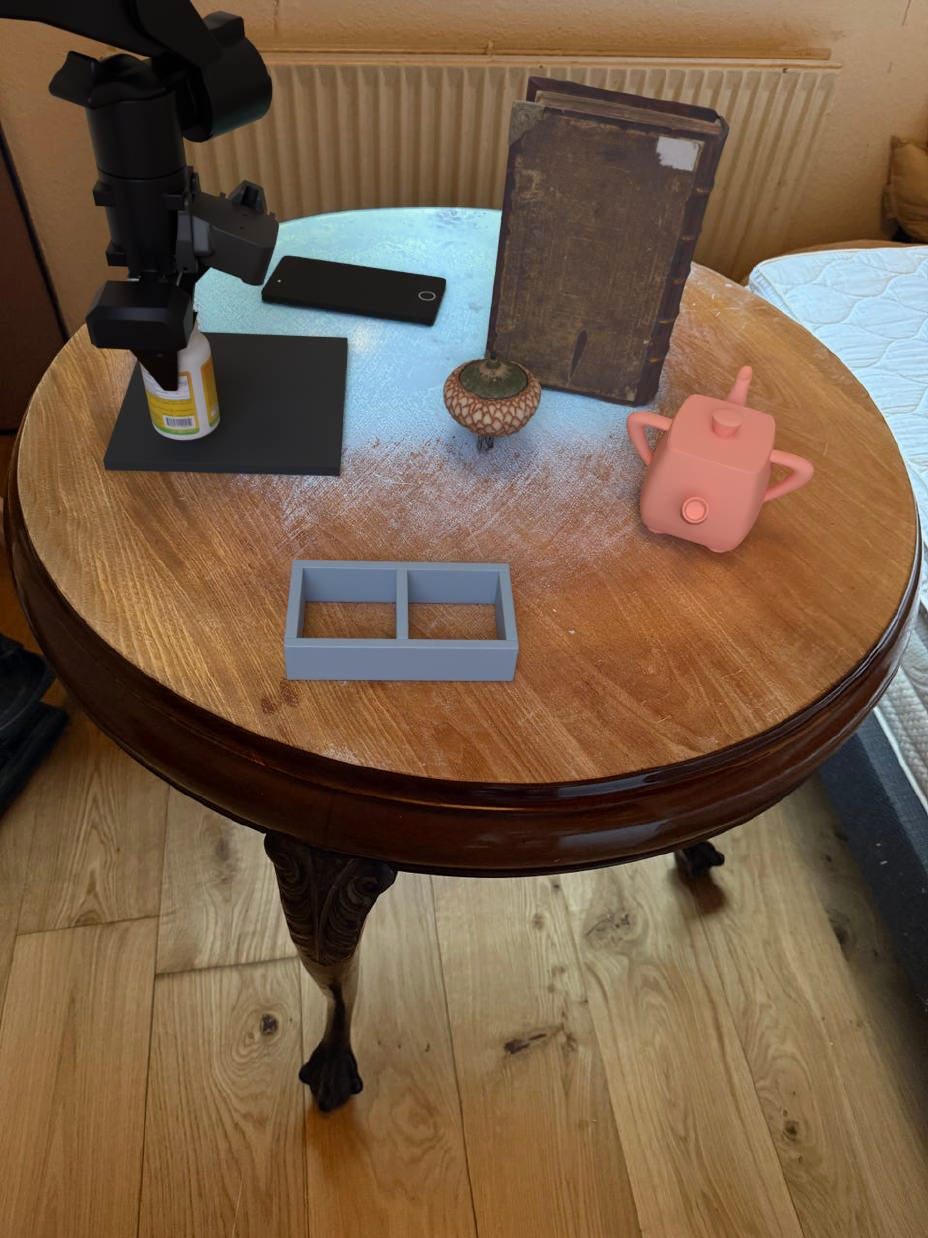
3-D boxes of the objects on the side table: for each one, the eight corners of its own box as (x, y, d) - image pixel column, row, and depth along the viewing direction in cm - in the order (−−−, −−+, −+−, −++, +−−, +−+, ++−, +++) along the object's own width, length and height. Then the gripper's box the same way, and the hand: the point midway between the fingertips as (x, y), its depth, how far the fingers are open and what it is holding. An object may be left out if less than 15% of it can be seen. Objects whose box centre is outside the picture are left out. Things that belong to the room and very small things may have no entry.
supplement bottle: (196, 395, 78) (179, 288, 71) (233, 425, 76) (220, 317, 69) (139, 419, 76) (116, 309, 69) (176, 450, 73) (156, 340, 66)
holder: (286, 680, 62) (283, 646, 60) (295, 593, 68) (292, 559, 65) (513, 681, 64) (519, 648, 61) (503, 596, 69) (508, 563, 67)
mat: (105, 470, 75) (102, 460, 75) (148, 338, 89) (147, 329, 88) (339, 476, 77) (339, 466, 76) (347, 346, 91) (347, 337, 90)
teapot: (800, 565, 74) (848, 463, 66) (666, 588, 71) (700, 484, 64) (718, 456, 83) (752, 357, 76) (596, 473, 80) (619, 371, 73)
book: (662, 385, 90) (736, 108, 72) (648, 424, 85) (724, 140, 67) (499, 344, 93) (531, 68, 74) (477, 380, 88) (505, 95, 70)
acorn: (507, 415, 85) (520, 316, 77) (548, 469, 80) (566, 368, 72) (424, 432, 82) (429, 330, 75) (461, 489, 77) (470, 386, 70)
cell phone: (432, 327, 94) (433, 319, 93) (259, 301, 95) (258, 293, 94) (446, 285, 100) (447, 277, 99) (284, 262, 101) (283, 253, 100)
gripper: (251, 232, 55) (270, 445, 67) (277, 117, 68) (290, 313, 79) (58, 222, 54) (111, 440, 66) (121, 107, 67) (157, 307, 78)
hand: (176, 369), depth 72 cm, fingers closed on supplement bottle, 5 cm apart
